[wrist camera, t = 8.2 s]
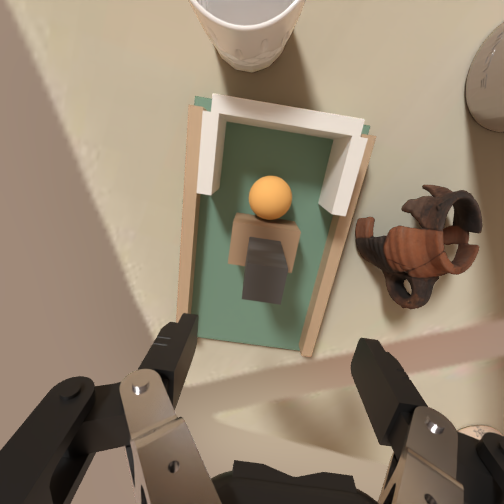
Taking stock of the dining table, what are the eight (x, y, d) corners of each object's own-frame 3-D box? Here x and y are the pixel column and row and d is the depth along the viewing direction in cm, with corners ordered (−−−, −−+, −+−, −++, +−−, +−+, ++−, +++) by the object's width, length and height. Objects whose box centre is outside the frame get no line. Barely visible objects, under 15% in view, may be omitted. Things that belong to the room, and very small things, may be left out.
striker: (294, 221, 26) (315, 257, 17) (286, 257, 28) (302, 308, 18) (236, 212, 26) (225, 244, 17) (231, 248, 28) (218, 297, 18)
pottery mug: (349, 190, 27) (433, 176, 20) (407, 194, 31) (494, 183, 24) (347, 302, 28) (426, 328, 21) (403, 291, 32) (485, 310, 25)
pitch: (365, 126, 24) (398, 118, 19) (304, 346, 34) (314, 384, 28) (197, 98, 24) (179, 80, 18) (181, 329, 33) (166, 365, 27)
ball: (288, 230, 23) (285, 212, 27) (299, 187, 21) (294, 173, 25) (244, 223, 23) (247, 206, 27) (250, 180, 21) (253, 167, 24)
